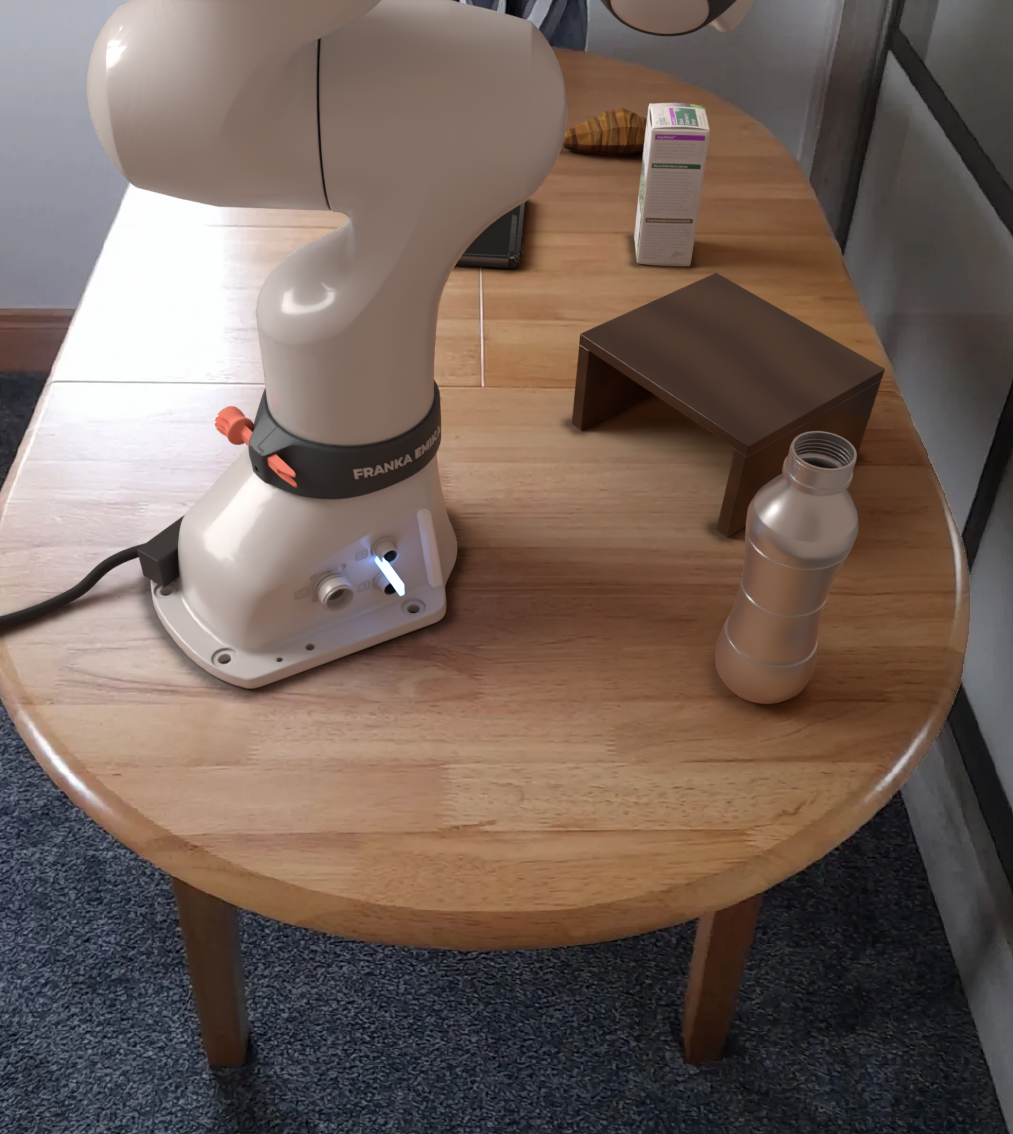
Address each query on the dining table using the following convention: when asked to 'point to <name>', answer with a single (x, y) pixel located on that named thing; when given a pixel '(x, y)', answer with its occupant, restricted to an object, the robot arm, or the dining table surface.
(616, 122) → the croissant
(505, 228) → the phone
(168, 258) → the dining table surface
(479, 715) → the dining table surface
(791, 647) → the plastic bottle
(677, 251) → the syrup box
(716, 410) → the shelf
